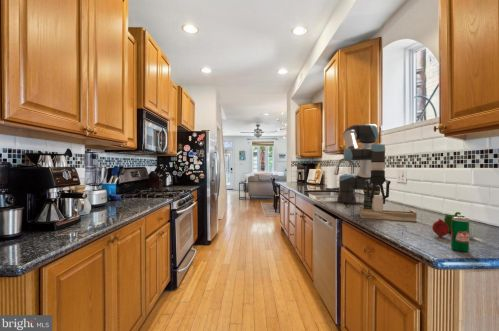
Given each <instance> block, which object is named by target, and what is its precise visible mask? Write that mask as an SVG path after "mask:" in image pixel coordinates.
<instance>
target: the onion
mask: <svg viewBox="0 0 499 331" xmlns="http://www.w3.org/2000/svg"><path fill="white" fill-rule="evenodd" d="M432 231H433V233H434V234H436V236H438V237H439V238H442V237H445V236H447V235H448V234H449V233H450V232H449V227H448V225H447V224H446V223H445V222H444V220H443V219H442V218H438V220H437V221H435V222H433V224H432Z"/></svg>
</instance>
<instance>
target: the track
mask: <svg viewBox="0 0 499 331" xmlns="http://www.w3.org/2000/svg"><path fill="white" fill-rule="evenodd" d="M417 213H418V212H417V211H415V210H414V209H409V211H406V210H392V209H391V210H389V209H383V210H382V212H376V211H373V209H363V207H362V206H360V207H359V216H360V218H363V219H377V220H388V221H389V220H391V221H392V220H393V221H403V222H404V221H406V222H417V216H418V214H417Z"/></svg>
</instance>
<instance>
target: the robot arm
mask: <svg viewBox="0 0 499 331" xmlns="http://www.w3.org/2000/svg"><path fill="white" fill-rule="evenodd" d="M342 138H343V140H344V142H345V148H344V149H343V160H344V161H359V172H357V175H355V174H354V173H348V174H341V175H340V176H339V180H338V181H339V182H338V183H339V184H338V189H339V190H338V191H339V192H338V195H337V198H336V202H337V203H341V204H342V203H343V204H357V198H356V194H355V190H356V191H363V188H364V185H366V186H367V196H368V197H370V203H372V209H374V198H373V194H374V190H375V186H376V185H378V186H380V194H381V196H382V210H384V205H386V199H387V198H388V199H389V197H390V185H391V180H388V179H386V170H385V169H386V145H385V144H384V143H376V141H377V140H378V139H379V129H378V126H377V124H375V123H373V124H372V123H368V124H367V123H365V124H353V125H350V126H348V127H347V128H345V129H344V131H343V133H342ZM358 142H359V144H360V148H359V146H358ZM384 183H385V184H386V185H385V186H386V187H385V189H384V185H383V184H384ZM369 185H373V186H372V190H371V195H369Z"/></svg>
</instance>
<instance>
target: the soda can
mask: <svg viewBox="0 0 499 331" xmlns="http://www.w3.org/2000/svg"><path fill="white" fill-rule="evenodd" d="M457 216H458V215H457ZM457 216H454V217H453V218H452V219H451V233H450V248H451V249H452V250H453V251H456V252H458V251H459V252H460V253H468V252H469V251H470V220H469V218H467V217H465V216H464V217H457ZM459 252H458V253H459Z"/></svg>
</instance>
